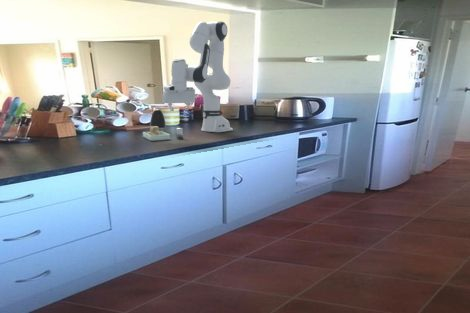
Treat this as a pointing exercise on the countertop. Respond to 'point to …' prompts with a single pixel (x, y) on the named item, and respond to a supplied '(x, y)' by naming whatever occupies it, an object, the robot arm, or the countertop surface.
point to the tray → (156, 136)
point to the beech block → (154, 130)
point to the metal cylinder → (179, 133)
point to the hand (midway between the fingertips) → (179, 110)
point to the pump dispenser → (158, 120)
